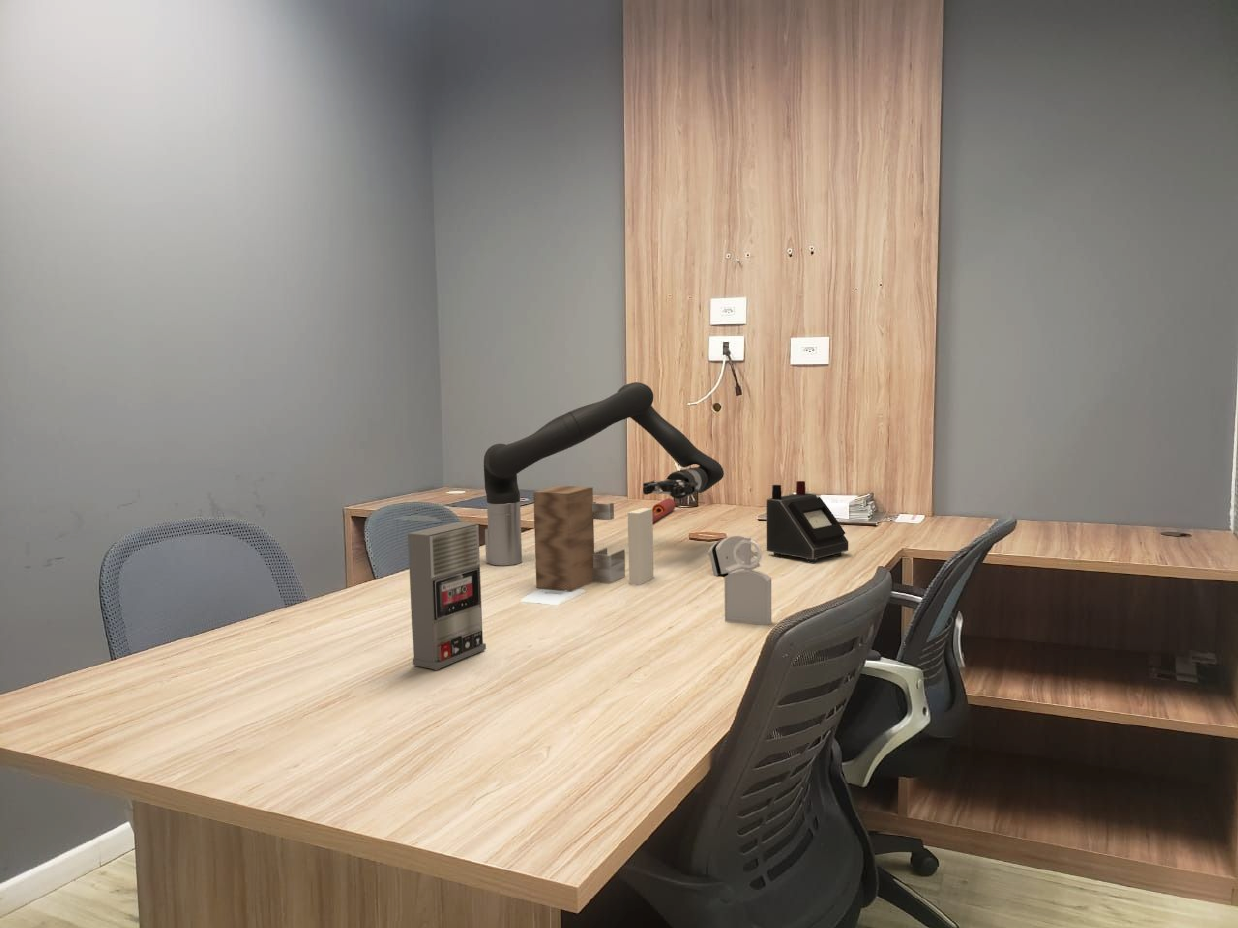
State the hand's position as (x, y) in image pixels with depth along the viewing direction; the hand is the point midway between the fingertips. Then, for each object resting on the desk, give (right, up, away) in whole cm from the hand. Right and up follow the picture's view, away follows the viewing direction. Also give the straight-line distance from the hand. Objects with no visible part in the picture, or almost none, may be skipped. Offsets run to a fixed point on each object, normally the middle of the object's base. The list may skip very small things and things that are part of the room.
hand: (659, 491), depth 247 cm
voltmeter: (+42, -19, +17) cm, 49 cm away
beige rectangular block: (-5, -22, -10) cm, 25 cm away
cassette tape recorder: (-43, -30, -69) cm, 87 cm away
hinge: (+19, -21, 0) cm, 29 cm away
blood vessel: (+1, -13, +81) cm, 82 cm away
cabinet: (-20, -23, -10) cm, 32 cm away
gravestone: (+17, -26, -48) cm, 58 cm away
